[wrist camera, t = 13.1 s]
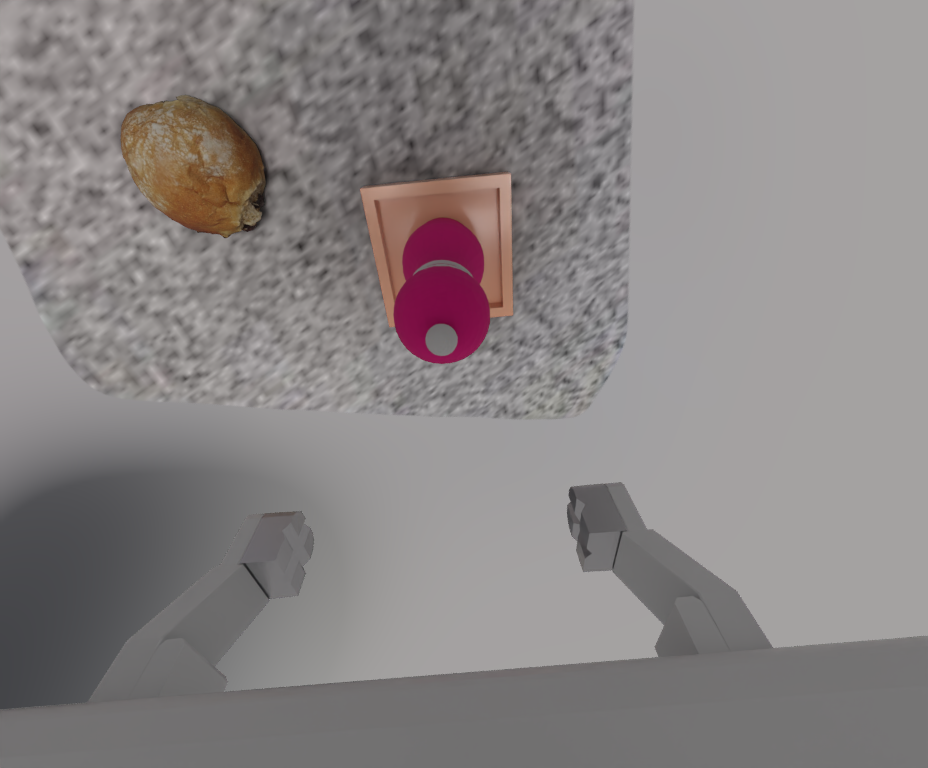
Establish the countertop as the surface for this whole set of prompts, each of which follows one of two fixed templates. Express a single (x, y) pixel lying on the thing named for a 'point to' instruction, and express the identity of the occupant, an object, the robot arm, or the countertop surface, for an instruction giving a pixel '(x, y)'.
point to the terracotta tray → (459, 198)
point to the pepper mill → (442, 293)
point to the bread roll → (195, 165)
